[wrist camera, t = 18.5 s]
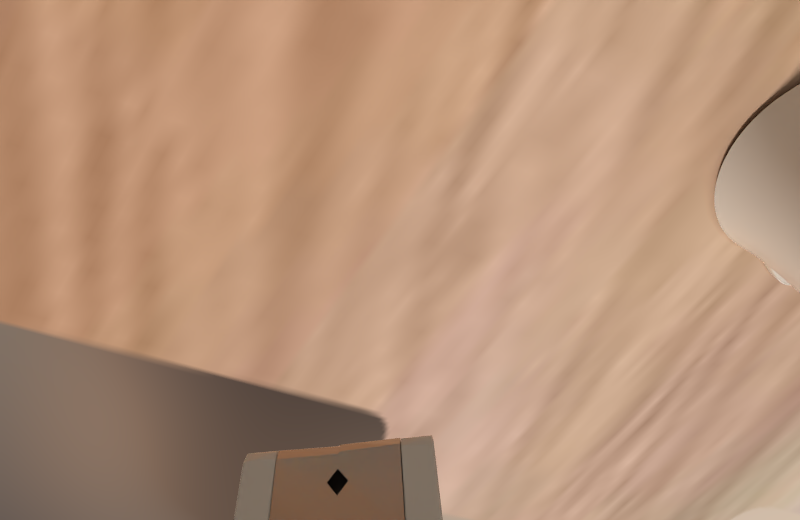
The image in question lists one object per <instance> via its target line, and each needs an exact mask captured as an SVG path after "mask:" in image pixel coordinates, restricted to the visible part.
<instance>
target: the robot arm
mask: <svg viewBox="0 0 800 520" xmlns="http://www.w3.org/2000/svg"><path fill="white" fill-rule="evenodd" d="M714 203H715V211H716V216H717V219H718V221H719V224H720V226H721V228H722V229H723V231H724V232H725V234H726V235H727V236H728V237H729V238H730V239H731V240H732V241H733V242H735V243H736V244H737V245H739V246H740V247H742V248H744V249H745V250H747V251H748V252H750V253H751V254H753V255H754V256H756V257H757V258H759V259H760V260H761V261H762V262H764V264H765V266H766V267H767V269H768V271H769V272H770V273H771V274H772V275H773V276H774V277H775V278H776V279H777V280H778V281H779V282H781V283H782V284H784V285H791V286H792V287H793V288H795V289H796V290H797V291H798V292H799V293H800V84H799V85H797V86H796V87H794V88H793V89H791V90H789V91H788V92H786V93H785V94H783V95H782V96H780V97H779V98H778V99H776V100H775V101H774V102H772V103H771V104H770V105H769V106H767V107H766V108H765V109H764V110H763V111H762V112H761V113H760V114H758V115H757V116H756V117H755V118H754V119H753V120H752V121H751V123H750V124H749V125H748V126H747V127H746V128H745V129H744V130H743V132H742V133H741V134H740V136H739V137H738V138H737V140H736V141H735V142H734V144H733V145H732V147H731V149H730V150H729V152H728V154H727V156H726V158H725V160H724V162H723V164H722V166H721V169H720V172H719V175H718V178H717V182H716V187H715V196H714ZM234 520H442V510H441V502H440V493H439V485H438V476H437V467H436V459H435V450H434V441H433V438H432V435H430V436H421V437H412V438H403V439H400V438H395V439H387V440H378V441H370V442H361V443H353V444H344V445H340V446H336V447H323V448H310V449H298V450H284V451H271V452H261V453H251V454H248V455H247V457H246V459H245V461H244V463H243V469H242V474H241V480H240V486H239V492H238V498H237V504H236V510H235V516H234Z"/></svg>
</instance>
